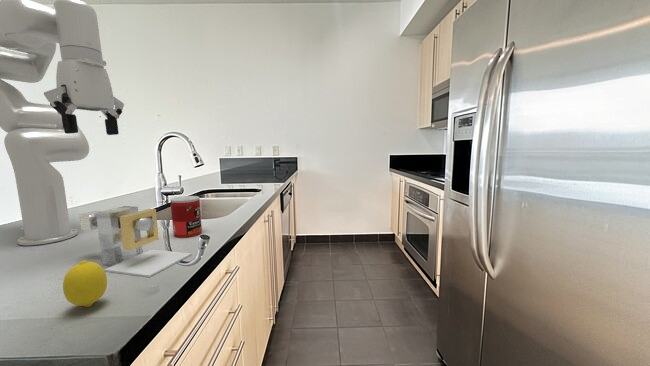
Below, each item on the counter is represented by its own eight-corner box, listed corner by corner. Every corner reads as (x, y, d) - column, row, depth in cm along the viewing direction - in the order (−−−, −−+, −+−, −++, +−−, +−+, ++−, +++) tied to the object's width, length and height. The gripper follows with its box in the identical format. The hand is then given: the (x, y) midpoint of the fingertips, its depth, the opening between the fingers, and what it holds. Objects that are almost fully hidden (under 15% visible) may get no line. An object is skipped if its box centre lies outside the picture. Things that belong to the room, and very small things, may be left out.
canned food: (191, 238, 82) (188, 200, 80) (167, 237, 83) (163, 200, 82) (207, 230, 89) (205, 196, 88) (184, 229, 91) (182, 195, 89)
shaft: (81, 229, 67) (79, 214, 66) (96, 225, 70) (95, 210, 70) (142, 234, 62) (140, 218, 62) (156, 229, 66) (154, 214, 65)
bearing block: (102, 264, 64) (95, 212, 63) (129, 253, 71) (124, 206, 69) (116, 266, 63) (109, 213, 62) (142, 254, 70) (137, 206, 68)
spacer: (123, 249, 62) (119, 216, 61) (152, 238, 69) (149, 208, 68) (130, 250, 61) (126, 216, 60) (158, 239, 68) (155, 209, 67)
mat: (104, 271, 61) (104, 269, 61) (151, 250, 72) (151, 249, 72) (149, 277, 58) (149, 275, 58) (191, 255, 69) (191, 253, 69)
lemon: (83, 298, 50) (77, 255, 49) (117, 296, 51) (111, 253, 49) (57, 317, 45) (49, 269, 44) (94, 315, 45) (88, 267, 44)
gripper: (106, 70, 76) (115, 135, 78) (25, 50, 59) (39, 133, 61) (129, 67, 74) (137, 134, 76) (51, 45, 57) (65, 131, 59)
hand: (93, 133), depth 69 cm, fingers open, 9 cm apart
